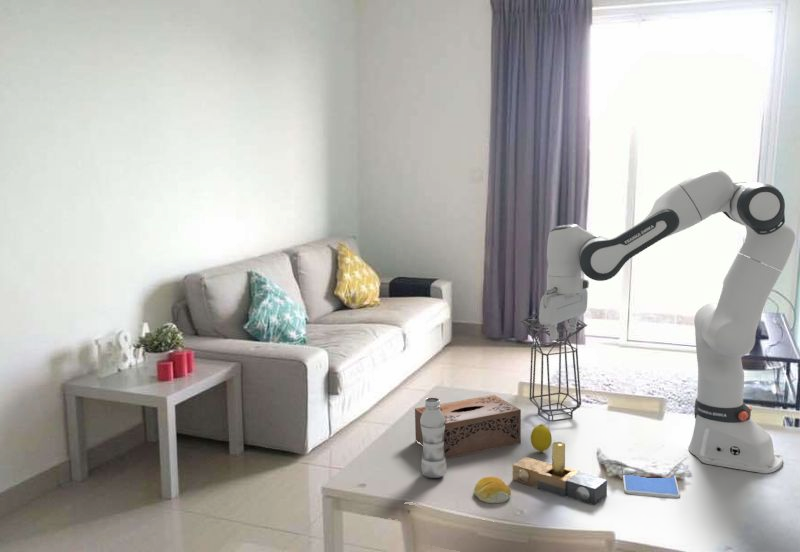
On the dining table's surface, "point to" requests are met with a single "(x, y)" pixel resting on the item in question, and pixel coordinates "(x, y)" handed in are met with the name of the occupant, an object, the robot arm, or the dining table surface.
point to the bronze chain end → (539, 473)
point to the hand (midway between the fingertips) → (563, 335)
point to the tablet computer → (651, 486)
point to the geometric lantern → (548, 367)
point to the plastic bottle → (433, 439)
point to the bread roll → (492, 490)
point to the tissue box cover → (476, 425)
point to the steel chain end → (580, 488)
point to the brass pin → (558, 459)
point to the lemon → (541, 438)
